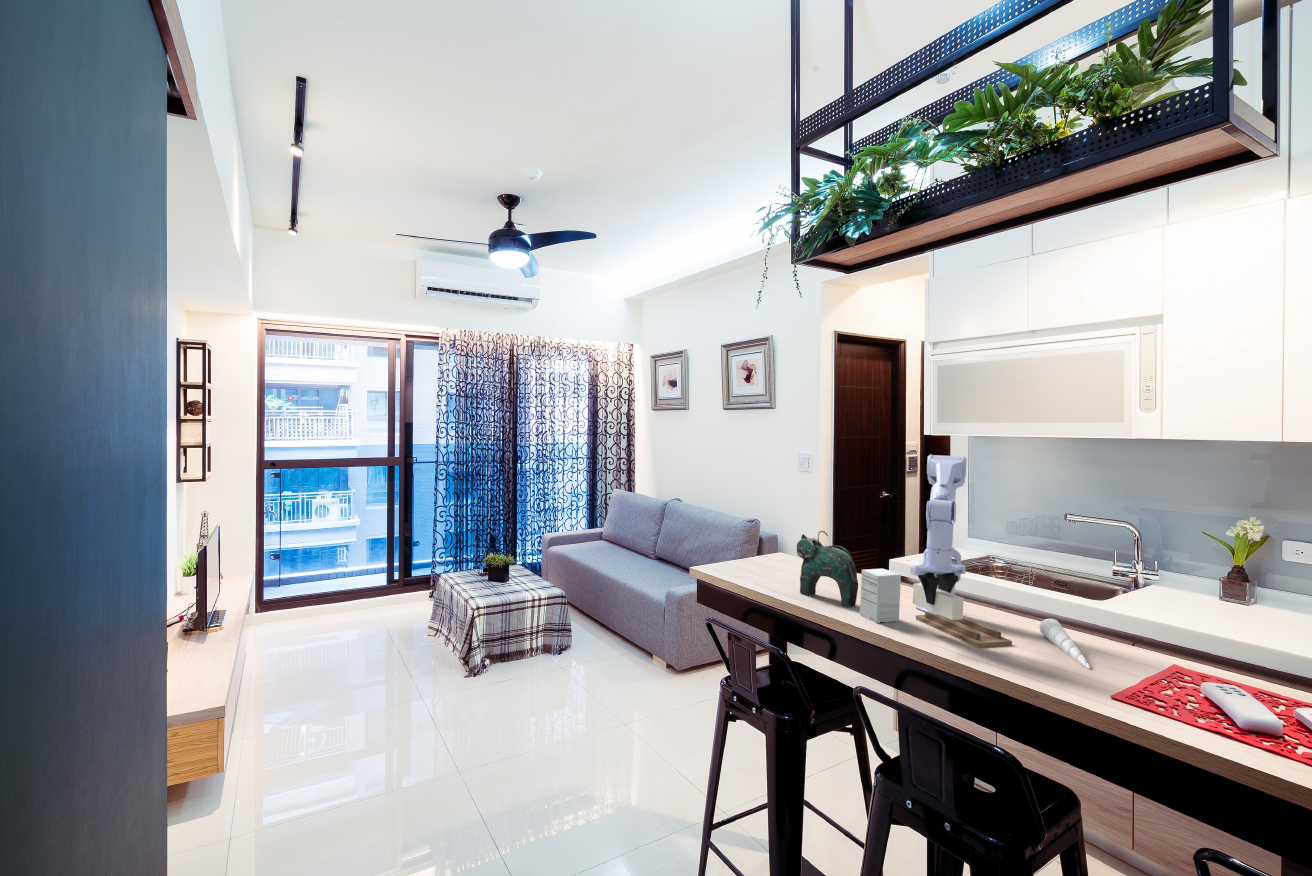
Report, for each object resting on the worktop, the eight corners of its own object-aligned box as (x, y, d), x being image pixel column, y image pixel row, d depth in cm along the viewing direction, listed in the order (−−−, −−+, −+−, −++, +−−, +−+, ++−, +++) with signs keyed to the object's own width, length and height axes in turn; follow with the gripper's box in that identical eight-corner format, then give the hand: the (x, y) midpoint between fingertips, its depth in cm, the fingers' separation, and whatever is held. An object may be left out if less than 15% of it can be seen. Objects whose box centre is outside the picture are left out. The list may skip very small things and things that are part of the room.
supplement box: (881, 613, 176) (883, 567, 175) (899, 621, 169) (902, 574, 168) (858, 615, 173) (860, 568, 173) (876, 623, 166) (878, 575, 166)
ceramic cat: (792, 592, 194) (795, 527, 194) (806, 589, 198) (809, 525, 198) (848, 609, 179) (851, 538, 178) (862, 605, 183) (865, 536, 182)
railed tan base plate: (915, 618, 172) (916, 609, 172) (946, 617, 175) (947, 608, 174) (977, 647, 151) (978, 636, 151) (1011, 644, 153) (1012, 634, 153)
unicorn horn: (1070, 668, 140) (1071, 646, 140) (1038, 635, 163) (1039, 616, 163) (1094, 671, 139) (1096, 649, 138) (1059, 637, 161) (1060, 618, 161)
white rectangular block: (912, 602, 163) (913, 583, 163) (922, 602, 164) (923, 583, 164) (951, 619, 150) (953, 598, 150) (962, 619, 151) (963, 598, 150)
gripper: (925, 552, 151) (922, 609, 151) (976, 551, 155) (973, 606, 155) (905, 546, 158) (903, 600, 158) (954, 545, 162) (952, 598, 162)
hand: (936, 603), depth 157 cm, fingers closed on white rectangular block, 3 cm apart
